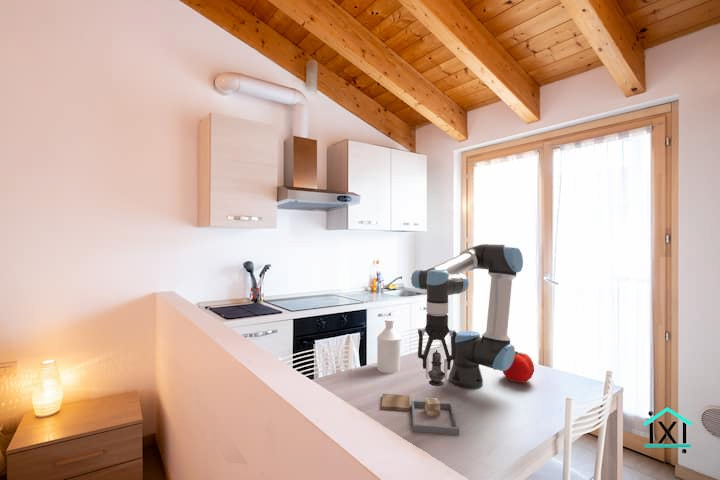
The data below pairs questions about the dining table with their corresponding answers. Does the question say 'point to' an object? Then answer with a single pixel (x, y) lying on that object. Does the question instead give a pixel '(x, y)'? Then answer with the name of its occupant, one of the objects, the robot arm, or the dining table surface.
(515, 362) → the tomato
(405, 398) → the light brown wooden board
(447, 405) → the tray
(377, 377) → the dining table surface
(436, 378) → the dark grey chess piece
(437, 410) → the beech block
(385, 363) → the bottle
